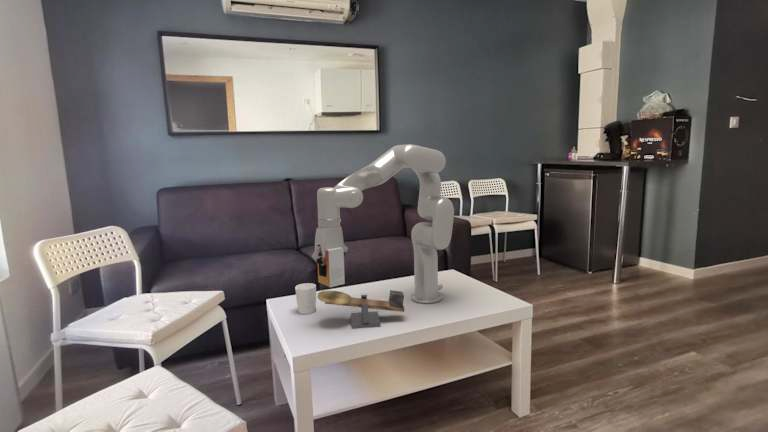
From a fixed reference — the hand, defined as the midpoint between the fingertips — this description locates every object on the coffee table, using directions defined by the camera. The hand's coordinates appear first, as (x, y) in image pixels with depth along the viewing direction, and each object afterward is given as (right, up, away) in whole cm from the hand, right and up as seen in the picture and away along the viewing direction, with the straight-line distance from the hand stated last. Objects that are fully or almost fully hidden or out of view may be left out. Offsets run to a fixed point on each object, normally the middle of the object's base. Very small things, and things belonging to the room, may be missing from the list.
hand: (331, 273), depth 144 cm
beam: (+10, -12, +3) cm, 16 cm away
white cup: (-11, -17, +15) cm, 25 cm away
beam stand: (+12, -18, +4) cm, 22 cm away
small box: (0, -4, 0) cm, 4 cm away
